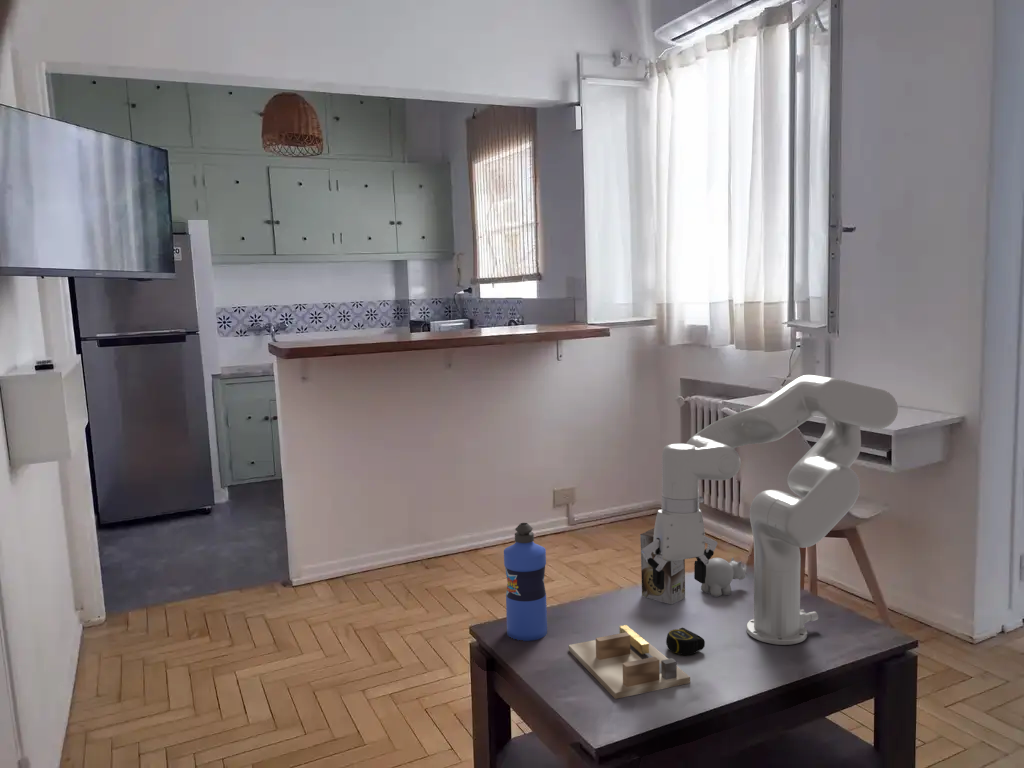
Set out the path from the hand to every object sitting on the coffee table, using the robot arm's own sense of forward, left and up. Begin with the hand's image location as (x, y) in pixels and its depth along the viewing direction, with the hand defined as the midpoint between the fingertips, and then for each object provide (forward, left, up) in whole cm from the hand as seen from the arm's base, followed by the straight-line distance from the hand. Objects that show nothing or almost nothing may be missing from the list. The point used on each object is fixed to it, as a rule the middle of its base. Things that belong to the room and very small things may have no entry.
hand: (679, 584), depth 166 cm
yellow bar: (+9, -3, -13) cm, 16 cm away
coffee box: (-11, -27, -15) cm, 33 cm away
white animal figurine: (-27, -24, -15) cm, 39 cm away
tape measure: (-1, 0, -15) cm, 15 cm away
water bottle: (+27, -21, -15) cm, 37 cm away
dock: (+14, +2, -14) cm, 20 cm away
